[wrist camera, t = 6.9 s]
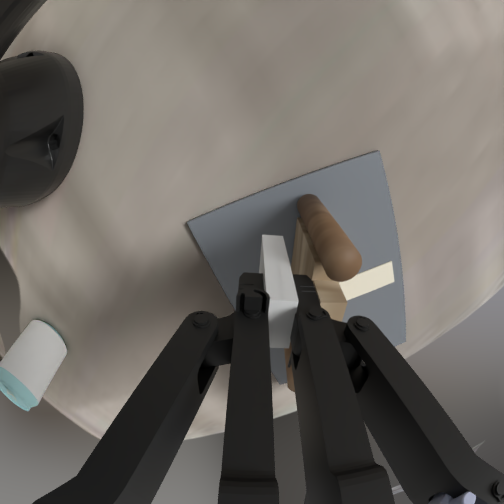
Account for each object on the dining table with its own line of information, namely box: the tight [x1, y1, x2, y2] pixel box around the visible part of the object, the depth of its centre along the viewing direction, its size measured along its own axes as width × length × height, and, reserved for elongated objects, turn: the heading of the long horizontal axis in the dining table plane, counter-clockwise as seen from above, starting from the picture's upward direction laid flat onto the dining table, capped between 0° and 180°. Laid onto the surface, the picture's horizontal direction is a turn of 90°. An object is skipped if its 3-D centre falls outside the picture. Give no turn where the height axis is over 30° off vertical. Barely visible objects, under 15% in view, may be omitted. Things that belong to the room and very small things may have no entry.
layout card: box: [187, 150, 406, 384], centre depth 24 cm, size 16×22×1 cm
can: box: [0, 320, 67, 411], centre depth 24 cm, size 7×7×12 cm
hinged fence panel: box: [291, 194, 362, 322], centre depth 17 cm, size 2×9×9 cm, turn 177°
